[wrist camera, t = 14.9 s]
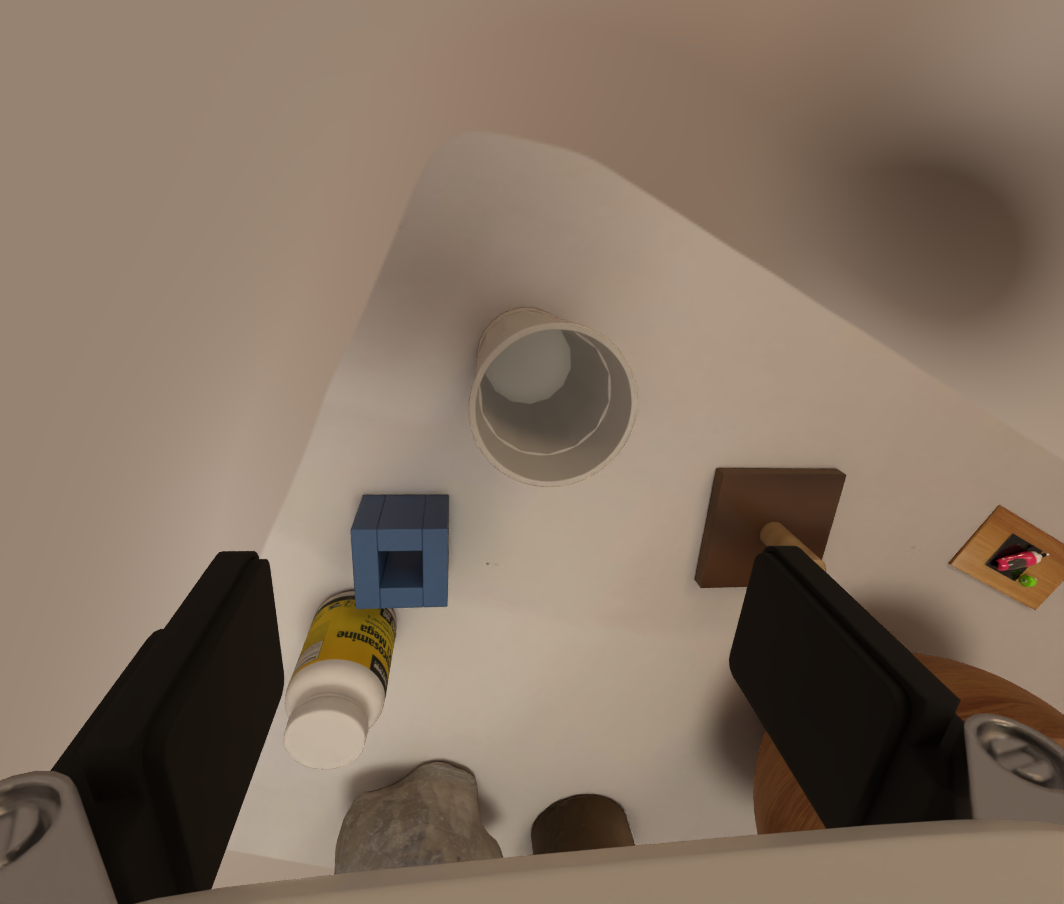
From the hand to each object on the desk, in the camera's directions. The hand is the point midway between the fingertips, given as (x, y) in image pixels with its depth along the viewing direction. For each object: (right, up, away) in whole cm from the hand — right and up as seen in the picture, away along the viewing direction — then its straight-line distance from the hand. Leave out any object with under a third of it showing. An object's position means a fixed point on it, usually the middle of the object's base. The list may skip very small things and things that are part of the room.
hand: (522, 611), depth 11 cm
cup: (0, +10, +26) cm, 28 cm away
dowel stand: (+19, -3, +34) cm, 39 cm away
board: (+43, -6, +39) cm, 58 cm away
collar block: (-9, -3, +30) cm, 31 cm away
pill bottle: (-13, -10, +32) cm, 36 cm away
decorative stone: (-9, -29, +40) cm, 51 cm away
